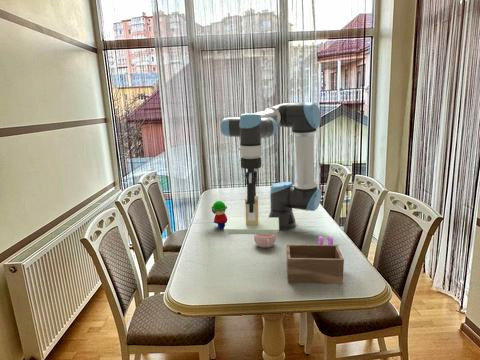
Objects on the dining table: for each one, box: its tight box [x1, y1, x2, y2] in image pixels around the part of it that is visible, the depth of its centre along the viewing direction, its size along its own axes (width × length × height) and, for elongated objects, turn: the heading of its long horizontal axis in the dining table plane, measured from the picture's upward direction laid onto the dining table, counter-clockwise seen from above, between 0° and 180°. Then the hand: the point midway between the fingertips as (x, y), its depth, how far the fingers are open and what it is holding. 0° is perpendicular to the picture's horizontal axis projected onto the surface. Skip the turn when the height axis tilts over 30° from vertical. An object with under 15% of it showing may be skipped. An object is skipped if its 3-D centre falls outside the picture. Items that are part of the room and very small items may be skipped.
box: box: [286, 243, 345, 285], centre depth 129 cm, size 13×20×10 cm, turn 84°
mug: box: [253, 234, 277, 249], centre depth 156 cm, size 12×10×6 cm
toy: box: [211, 200, 228, 230], centre depth 180 cm, size 9×9×15 cm
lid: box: [223, 195, 280, 236], centre depth 127 cm, size 13×20×12 cm, turn 84°
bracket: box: [317, 235, 334, 245], centre depth 145 cm, size 13×6×7 cm, turn 178°
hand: (252, 217), depth 127 cm, fingers closed on lid, 4 cm apart
